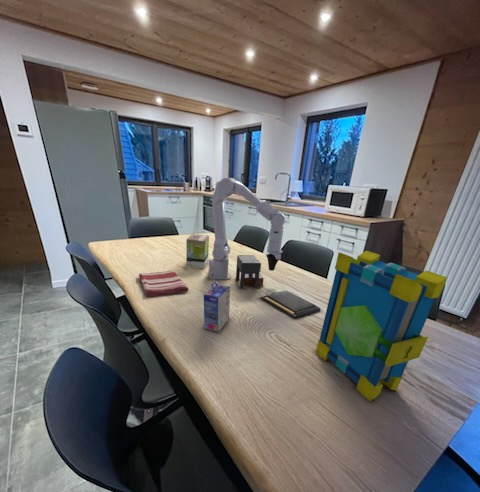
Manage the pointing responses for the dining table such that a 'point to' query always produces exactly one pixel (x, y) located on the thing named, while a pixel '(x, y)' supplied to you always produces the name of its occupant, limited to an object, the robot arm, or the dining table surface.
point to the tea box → (197, 251)
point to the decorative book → (376, 320)
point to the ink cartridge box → (216, 307)
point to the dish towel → (162, 283)
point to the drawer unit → (247, 268)
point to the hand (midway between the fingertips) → (271, 270)
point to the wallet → (290, 304)
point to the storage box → (252, 280)
